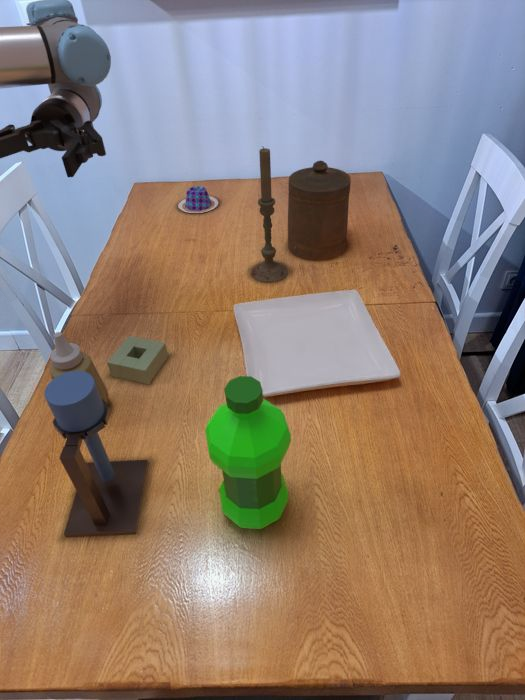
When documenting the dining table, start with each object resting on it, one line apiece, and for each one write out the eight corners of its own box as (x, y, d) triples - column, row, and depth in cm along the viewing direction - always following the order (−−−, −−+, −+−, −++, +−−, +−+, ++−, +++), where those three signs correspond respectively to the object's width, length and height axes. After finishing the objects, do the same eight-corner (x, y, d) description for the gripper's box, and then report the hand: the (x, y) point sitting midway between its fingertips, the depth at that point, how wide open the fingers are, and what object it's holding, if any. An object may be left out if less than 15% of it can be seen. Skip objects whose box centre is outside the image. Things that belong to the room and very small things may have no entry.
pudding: (223, 199, 150) (221, 182, 147) (211, 216, 142) (209, 199, 138) (186, 196, 153) (184, 180, 149) (172, 214, 144) (169, 197, 140)
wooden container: (347, 234, 130) (353, 150, 116) (344, 264, 120) (351, 175, 105) (291, 232, 133) (291, 149, 118) (284, 260, 122) (282, 173, 107)
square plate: (251, 410, 85) (250, 395, 83) (233, 316, 106) (232, 302, 103) (400, 388, 88) (403, 373, 85) (355, 300, 108) (356, 286, 105)
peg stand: (86, 467, 78) (51, 393, 67) (149, 463, 78) (125, 389, 66) (66, 538, 69) (21, 467, 58) (137, 535, 69) (106, 463, 57)
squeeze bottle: (64, 434, 83) (26, 356, 71) (68, 400, 89) (33, 322, 77) (112, 425, 84) (83, 347, 72) (113, 392, 90) (86, 314, 78)
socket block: (112, 377, 93) (106, 362, 90) (133, 350, 99) (128, 335, 96) (149, 386, 91) (145, 370, 88) (168, 358, 96) (165, 342, 94)
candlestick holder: (253, 263, 122) (245, 138, 102) (290, 264, 120) (289, 138, 101) (247, 283, 115) (238, 154, 95) (286, 285, 114) (284, 154, 94)
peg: (79, 487, 71) (33, 399, 59) (101, 455, 76) (63, 366, 63) (115, 498, 70) (75, 409, 57) (135, 464, 74) (103, 375, 62)
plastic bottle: (224, 476, 75) (205, 357, 59) (293, 481, 74) (293, 360, 58) (213, 538, 68) (187, 421, 51) (289, 544, 67) (287, 426, 50)
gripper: (139, 140, 85) (115, 191, 69) (-4, 148, 85) (-61, 201, 69) (130, 93, 80) (101, 136, 64) (-22, 101, 80) (-88, 146, 64)
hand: (17, 170), depth 66 cm, fingers open, 13 cm apart
